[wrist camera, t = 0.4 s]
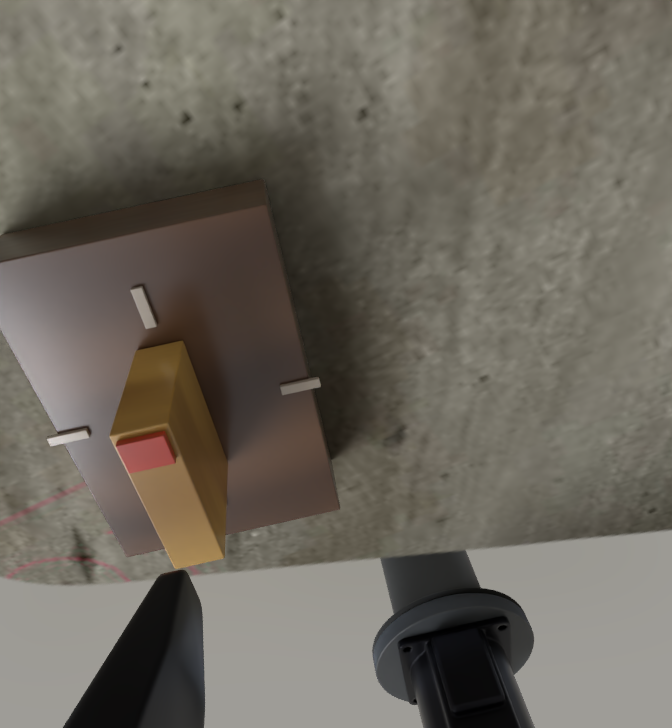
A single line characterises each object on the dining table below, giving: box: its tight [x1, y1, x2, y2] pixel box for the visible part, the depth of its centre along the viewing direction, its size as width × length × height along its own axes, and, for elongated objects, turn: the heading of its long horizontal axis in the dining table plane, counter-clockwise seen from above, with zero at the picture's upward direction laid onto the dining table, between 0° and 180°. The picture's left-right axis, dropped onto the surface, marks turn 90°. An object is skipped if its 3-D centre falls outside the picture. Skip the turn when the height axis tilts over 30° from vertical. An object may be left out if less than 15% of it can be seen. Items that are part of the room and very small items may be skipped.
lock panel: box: [0, 179, 340, 557], centre depth 22 cm, size 13×10×3 cm
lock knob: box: [109, 341, 228, 569], centre depth 19 cm, size 6×2×5 cm, turn 10°
